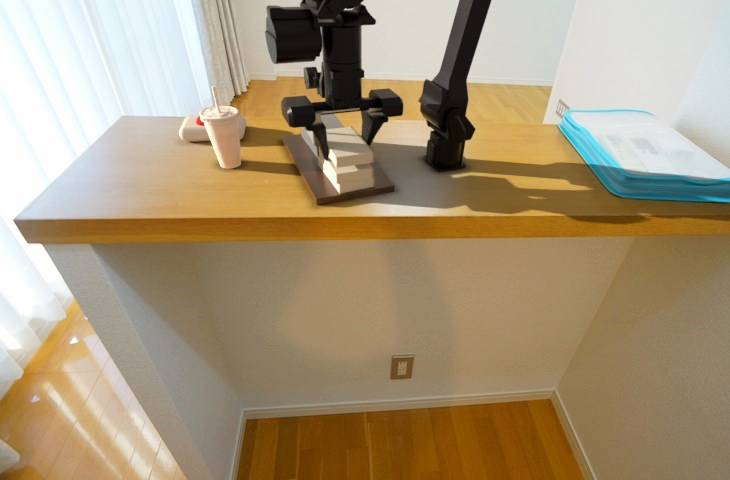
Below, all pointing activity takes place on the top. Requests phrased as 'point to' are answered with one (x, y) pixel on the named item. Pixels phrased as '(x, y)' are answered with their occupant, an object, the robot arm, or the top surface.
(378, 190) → the walnut board
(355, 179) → the white book
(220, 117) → the smoothie
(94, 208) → the top surface
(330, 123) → the grey flat block
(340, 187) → the white book
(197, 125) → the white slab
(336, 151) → the white book
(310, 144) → the gray rectangular block
